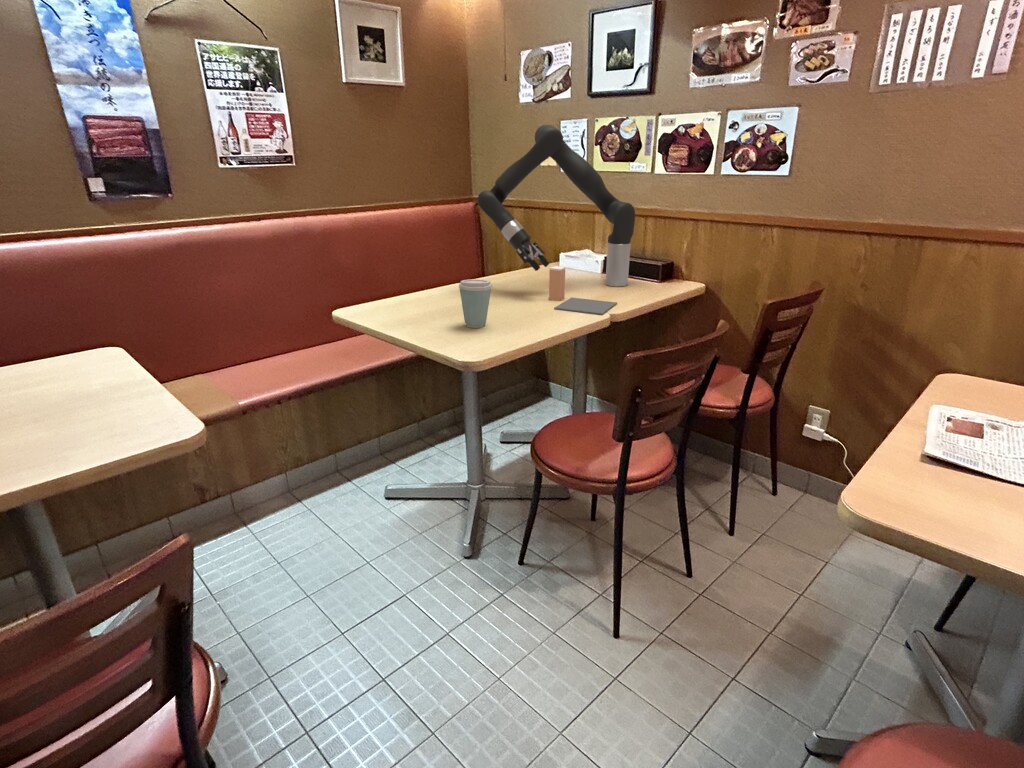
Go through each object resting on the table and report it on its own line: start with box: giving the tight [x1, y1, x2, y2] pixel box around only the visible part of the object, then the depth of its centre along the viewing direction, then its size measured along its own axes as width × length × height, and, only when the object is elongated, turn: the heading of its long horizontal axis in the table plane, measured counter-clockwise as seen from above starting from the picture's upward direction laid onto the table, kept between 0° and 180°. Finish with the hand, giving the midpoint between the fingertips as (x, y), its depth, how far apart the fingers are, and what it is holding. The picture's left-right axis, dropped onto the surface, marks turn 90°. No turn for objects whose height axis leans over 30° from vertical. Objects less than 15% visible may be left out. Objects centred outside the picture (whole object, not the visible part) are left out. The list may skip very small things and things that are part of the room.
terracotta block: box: [548, 265, 566, 302], centre depth 222 cm, size 4×4×12 cm
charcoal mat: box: [553, 297, 618, 316], centre depth 213 cm, size 17×18×1 cm
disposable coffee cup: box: [458, 278, 493, 329], centre depth 189 cm, size 11×11×15 cm
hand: (543, 267), depth 222 cm, fingers open, 8 cm apart
